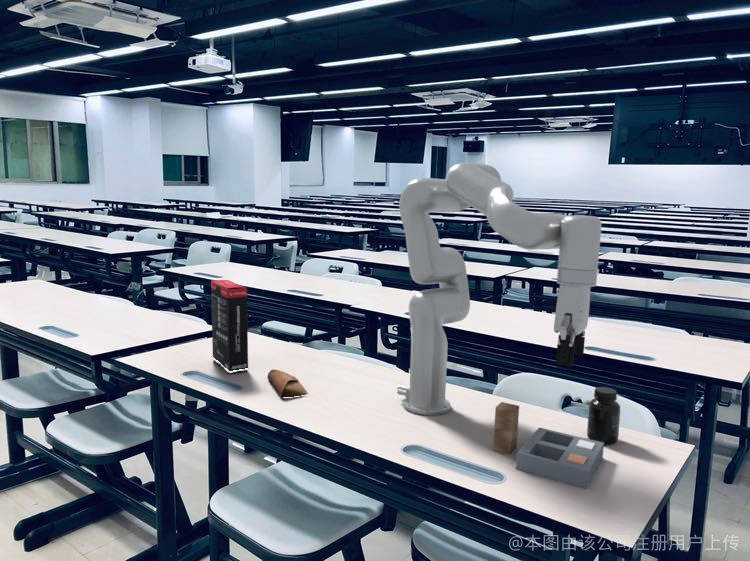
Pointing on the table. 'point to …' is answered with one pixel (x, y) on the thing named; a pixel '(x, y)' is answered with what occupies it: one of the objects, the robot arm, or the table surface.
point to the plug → (506, 428)
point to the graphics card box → (229, 324)
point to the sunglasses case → (286, 384)
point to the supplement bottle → (604, 416)
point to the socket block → (560, 457)
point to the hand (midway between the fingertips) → (569, 359)
